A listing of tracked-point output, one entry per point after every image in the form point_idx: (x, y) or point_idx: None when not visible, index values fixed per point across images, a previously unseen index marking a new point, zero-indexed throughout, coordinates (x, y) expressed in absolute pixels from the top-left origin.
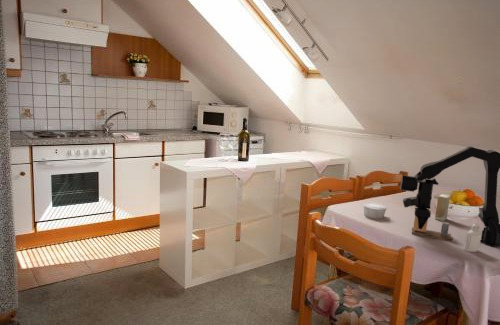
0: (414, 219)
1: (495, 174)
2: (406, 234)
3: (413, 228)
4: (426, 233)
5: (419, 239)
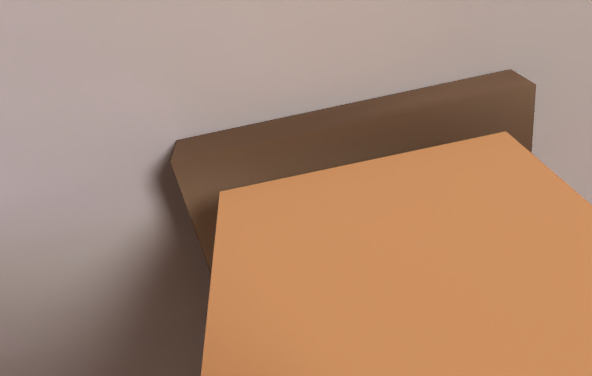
0: (516, 297)
1: None
2: (51, 60)
3: (218, 212)
4: None
5: (2, 304)
